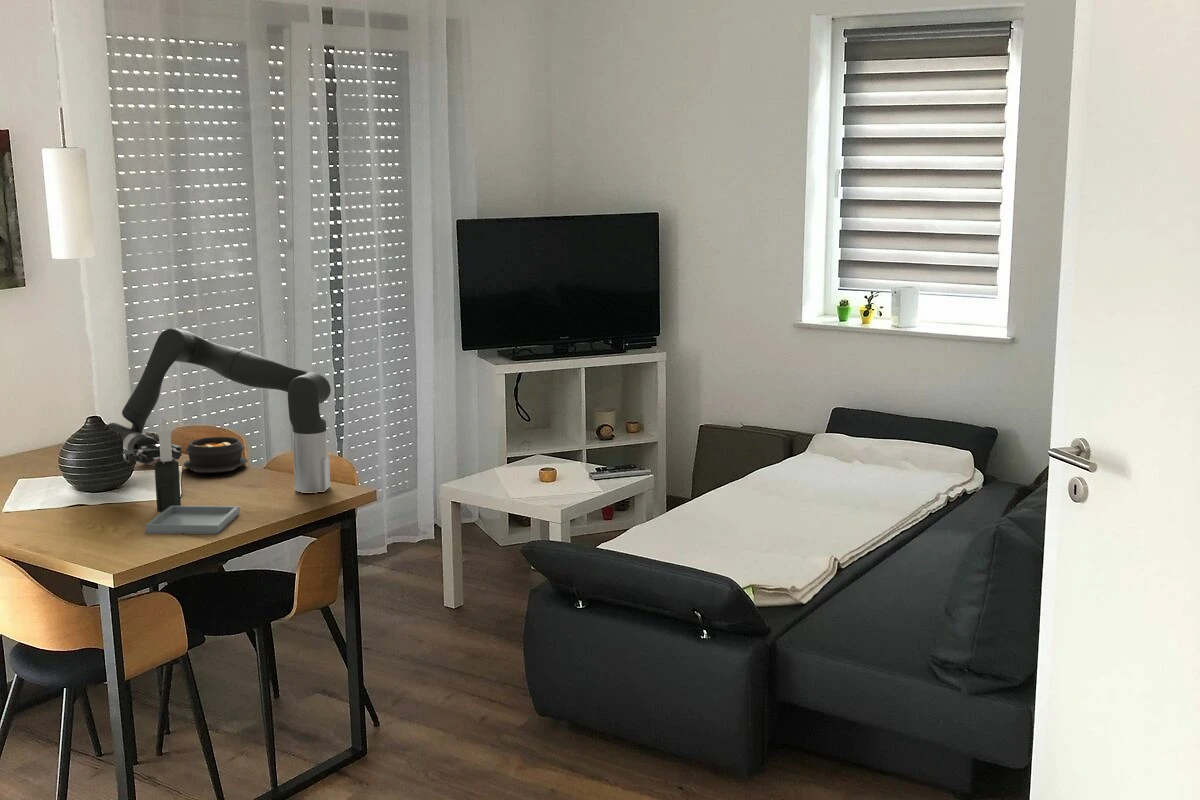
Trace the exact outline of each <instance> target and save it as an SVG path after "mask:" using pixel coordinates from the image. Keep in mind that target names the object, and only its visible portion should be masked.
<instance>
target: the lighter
mask: <svg viewBox="0 0 1200 800" xmlns="http://www.w3.org/2000/svg"><path fill="white" fill-rule="evenodd" d="M144 434H145V435H147V436H149V437H152V438H154V439H155V440H156V441H157V442H158V443H159V431H155V432H153V431H146V432H145V433H144ZM157 460H160V458H158V459H155V460H154V461H153V462H151V463H148V464H147V465H149V466H150V465H151V466H154V464H156V463H157Z"/></svg>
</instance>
